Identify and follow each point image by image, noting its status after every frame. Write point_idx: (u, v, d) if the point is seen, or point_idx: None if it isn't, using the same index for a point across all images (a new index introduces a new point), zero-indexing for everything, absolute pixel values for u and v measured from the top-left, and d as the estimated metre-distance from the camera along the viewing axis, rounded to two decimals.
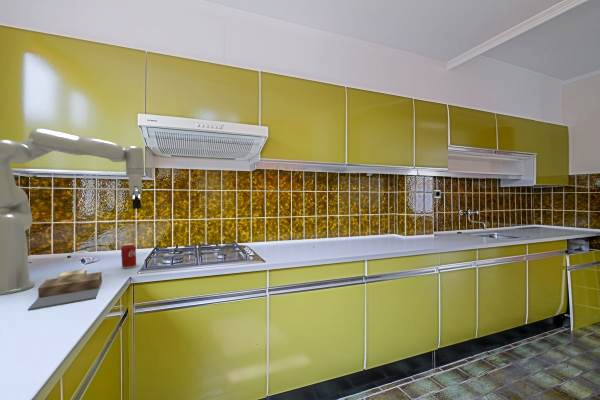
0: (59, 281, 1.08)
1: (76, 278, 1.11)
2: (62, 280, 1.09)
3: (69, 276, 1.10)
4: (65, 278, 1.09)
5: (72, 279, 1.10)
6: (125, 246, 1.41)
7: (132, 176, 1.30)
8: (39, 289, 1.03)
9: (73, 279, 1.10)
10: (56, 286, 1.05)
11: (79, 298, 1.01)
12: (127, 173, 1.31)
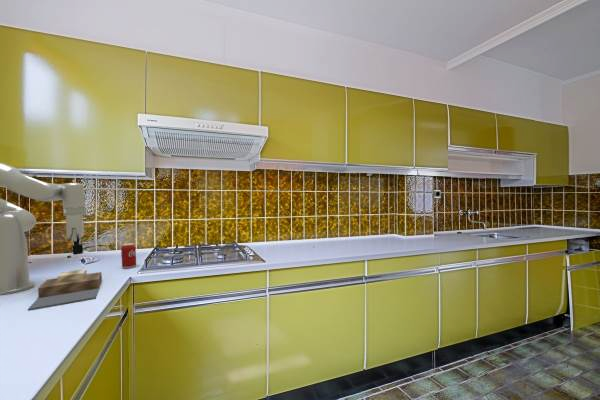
0: (59, 281, 1.08)
1: (76, 278, 1.11)
2: (62, 280, 1.09)
3: (69, 276, 1.10)
4: (65, 278, 1.09)
5: (72, 279, 1.10)
6: (125, 246, 1.41)
7: (69, 217, 1.16)
8: (39, 289, 1.03)
9: (73, 279, 1.10)
10: (56, 286, 1.05)
11: (79, 298, 1.01)
12: (64, 213, 1.18)
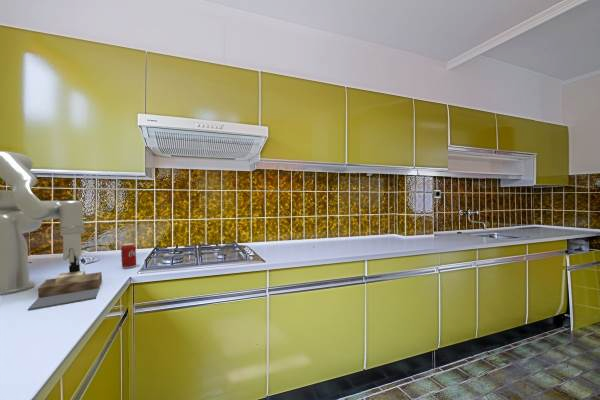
0: (57, 283, 1.06)
1: (74, 280, 1.09)
2: (60, 282, 1.07)
3: (67, 278, 1.08)
4: (63, 279, 1.07)
5: (70, 281, 1.08)
6: (125, 246, 1.41)
7: (66, 237, 1.11)
8: (39, 289, 1.03)
9: (71, 281, 1.08)
10: (56, 286, 1.05)
11: (79, 298, 1.01)
12: (61, 233, 1.12)
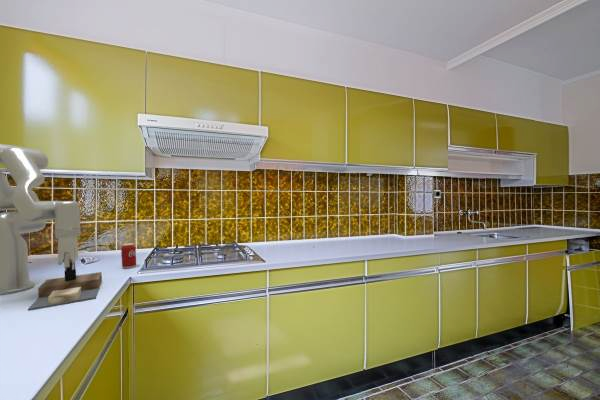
0: None
1: None
2: None
3: None
4: None
5: None
6: (125, 246, 1.41)
7: (61, 240, 1.04)
8: (39, 289, 1.03)
9: None
10: (56, 286, 1.05)
11: (79, 298, 1.01)
12: (56, 236, 1.05)
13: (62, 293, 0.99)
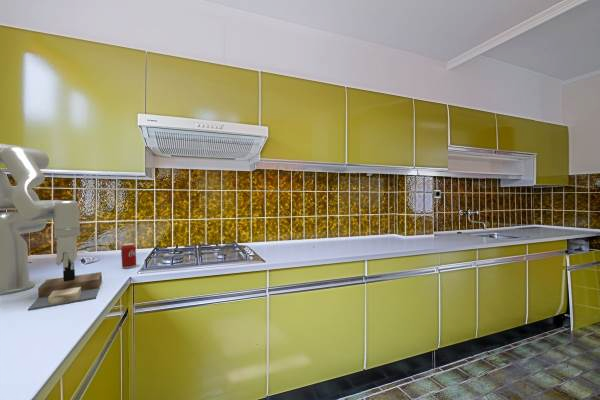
0: None
1: None
2: None
3: None
4: None
5: None
6: (125, 246, 1.41)
7: (60, 240, 1.03)
8: (39, 289, 1.03)
9: None
10: (56, 286, 1.05)
11: (79, 298, 1.01)
12: (55, 235, 1.04)
13: (62, 293, 0.99)
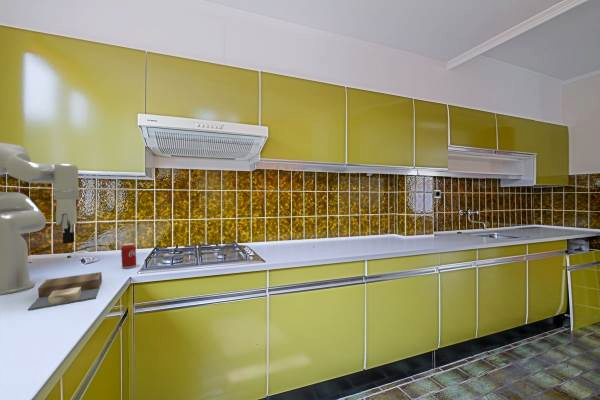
0: None
1: None
2: None
3: None
4: None
5: None
6: (125, 246, 1.41)
7: (60, 201, 1.04)
8: (39, 289, 1.03)
9: None
10: (56, 286, 1.05)
11: (79, 298, 1.01)
12: (54, 197, 1.06)
13: (62, 293, 0.99)
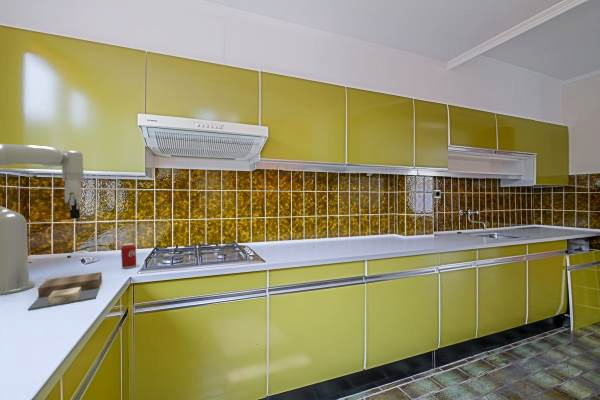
0: None
1: None
2: None
3: None
4: None
5: None
6: (125, 246, 1.41)
7: (68, 182, 1.23)
8: (39, 289, 1.03)
9: None
10: (56, 286, 1.05)
11: (79, 298, 1.01)
12: (63, 179, 1.24)
13: (62, 293, 0.99)
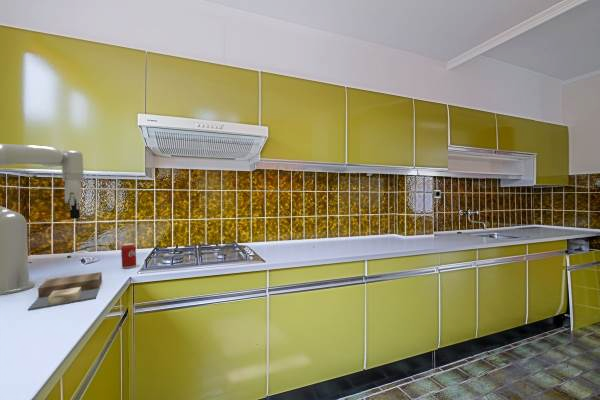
0: None
1: None
2: None
3: None
4: None
5: None
6: (125, 246, 1.41)
7: (68, 182, 1.23)
8: (39, 289, 1.03)
9: None
10: (56, 286, 1.05)
11: (79, 298, 1.01)
12: (63, 179, 1.24)
13: (62, 293, 0.99)
